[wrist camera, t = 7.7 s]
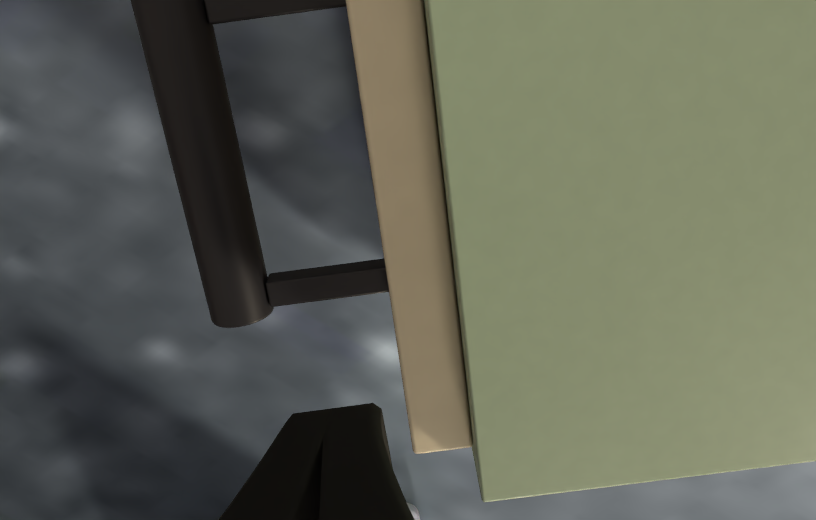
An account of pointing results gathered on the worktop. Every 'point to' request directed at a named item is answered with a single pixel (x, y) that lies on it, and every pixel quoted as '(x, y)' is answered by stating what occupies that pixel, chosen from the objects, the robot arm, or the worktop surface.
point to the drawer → (392, 180)
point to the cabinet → (630, 235)
